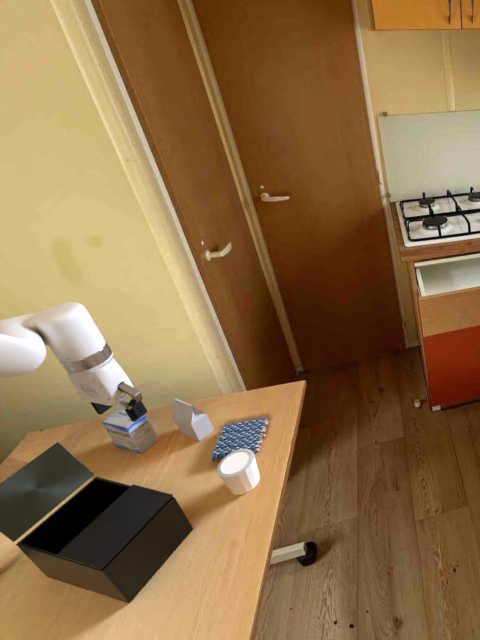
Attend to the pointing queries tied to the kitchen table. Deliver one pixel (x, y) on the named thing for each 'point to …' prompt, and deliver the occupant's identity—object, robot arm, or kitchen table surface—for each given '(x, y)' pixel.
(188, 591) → the kitchen table surface
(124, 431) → the medicine box
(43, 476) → the flap
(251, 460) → the white short cylinder
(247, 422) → the woven mat
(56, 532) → the black flap box
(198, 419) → the white gable carton
